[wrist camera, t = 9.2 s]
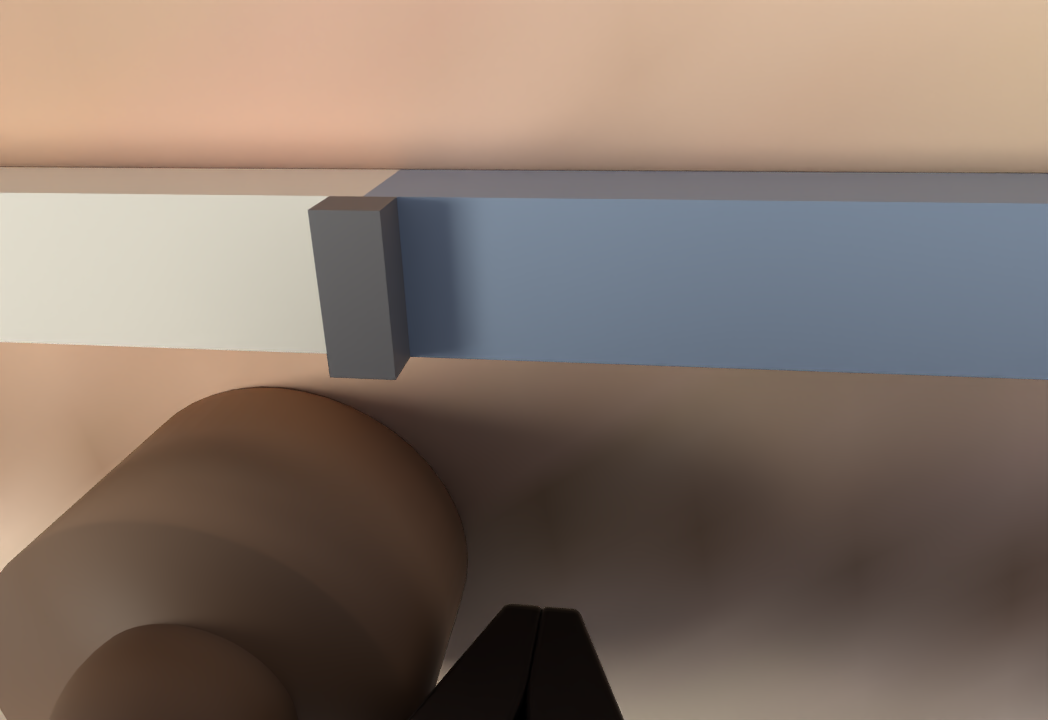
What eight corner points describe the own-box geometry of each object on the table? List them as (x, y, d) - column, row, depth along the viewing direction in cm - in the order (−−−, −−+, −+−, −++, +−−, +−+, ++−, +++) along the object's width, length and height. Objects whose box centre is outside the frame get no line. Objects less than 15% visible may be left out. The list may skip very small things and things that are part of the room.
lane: (948, 864, 11) (999, 1005, 9) (-347, 724, 14) (-473, 816, 12) (1165, 174, 7) (1316, 222, 5) (-719, 162, 10) (-976, 192, 8)
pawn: (468, 689, 11) (384, 1039, 7) (164, 652, 11) (-60, 963, 8) (465, 403, 9) (348, 679, 5) (100, 374, 9) (-235, 608, 6)
